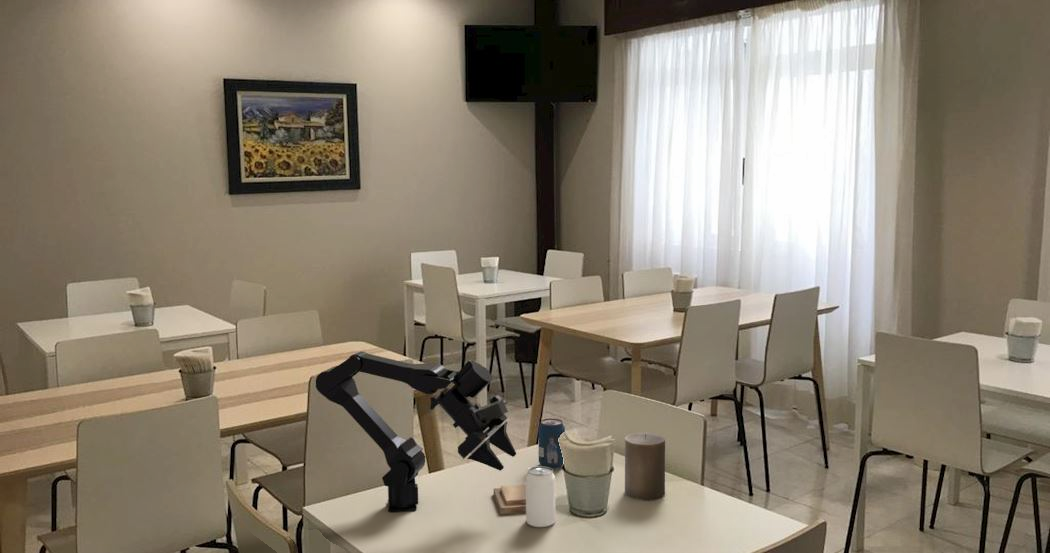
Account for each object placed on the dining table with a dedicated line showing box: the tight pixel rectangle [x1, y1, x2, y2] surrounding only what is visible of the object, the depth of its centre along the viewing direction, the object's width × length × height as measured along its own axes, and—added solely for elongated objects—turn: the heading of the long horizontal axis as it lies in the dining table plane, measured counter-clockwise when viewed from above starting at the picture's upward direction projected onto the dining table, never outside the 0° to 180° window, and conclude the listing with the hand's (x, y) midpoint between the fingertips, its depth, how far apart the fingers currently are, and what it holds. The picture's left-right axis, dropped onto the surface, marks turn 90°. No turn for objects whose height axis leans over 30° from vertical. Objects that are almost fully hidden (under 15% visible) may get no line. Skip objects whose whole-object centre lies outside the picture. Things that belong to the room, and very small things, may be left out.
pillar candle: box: [624, 432, 666, 501], centre depth 207 cm, size 10×10×15 cm
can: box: [525, 465, 556, 529], centre depth 190 cm, size 6×6×12 cm
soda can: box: [538, 418, 566, 470], centre depth 226 cm, size 7×7×12 cm
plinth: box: [493, 484, 526, 515], centre depth 202 cm, size 12×12×2 cm
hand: (508, 462), depth 191 cm, fingers open, 9 cm apart
